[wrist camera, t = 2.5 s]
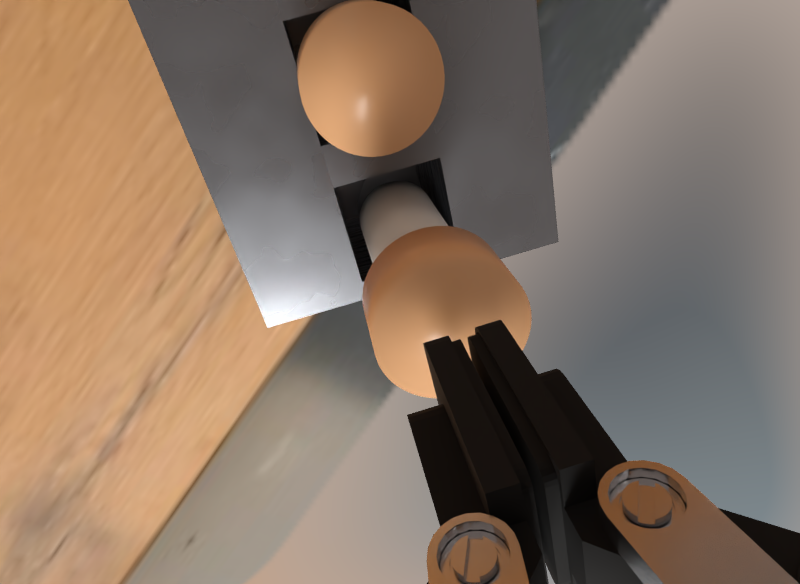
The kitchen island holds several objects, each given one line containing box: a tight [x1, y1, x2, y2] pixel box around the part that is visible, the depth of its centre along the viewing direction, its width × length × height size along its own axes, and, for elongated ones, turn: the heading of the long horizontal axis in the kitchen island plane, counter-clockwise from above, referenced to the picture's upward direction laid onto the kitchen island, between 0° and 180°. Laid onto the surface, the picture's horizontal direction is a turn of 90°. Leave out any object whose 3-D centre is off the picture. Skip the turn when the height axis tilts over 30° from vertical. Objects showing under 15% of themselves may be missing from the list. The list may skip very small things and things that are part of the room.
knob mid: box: [297, 0, 445, 157], centre depth 18 cm, size 4×4×8 cm
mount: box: [128, 0, 558, 328], centre depth 20 cm, size 11×15×7 cm
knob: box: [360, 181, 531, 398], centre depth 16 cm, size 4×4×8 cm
